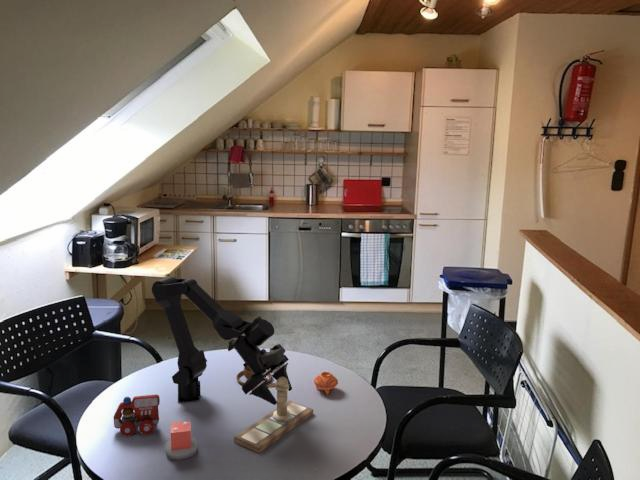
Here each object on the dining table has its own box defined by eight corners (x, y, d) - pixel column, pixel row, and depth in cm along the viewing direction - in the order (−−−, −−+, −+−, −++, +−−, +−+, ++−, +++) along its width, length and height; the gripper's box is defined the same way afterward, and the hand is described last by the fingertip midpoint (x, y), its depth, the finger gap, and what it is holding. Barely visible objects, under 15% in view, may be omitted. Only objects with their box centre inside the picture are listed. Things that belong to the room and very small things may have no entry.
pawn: (278, 423, 156) (279, 383, 153) (270, 415, 160) (270, 376, 157) (293, 418, 158) (294, 378, 156) (284, 411, 162) (285, 372, 160)
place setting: (225, 375, 189) (225, 360, 188) (273, 361, 202) (273, 346, 200) (252, 395, 176) (252, 378, 175) (301, 378, 188) (302, 362, 187)
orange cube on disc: (165, 461, 140) (164, 435, 138) (166, 443, 147) (165, 418, 146) (197, 457, 142) (196, 431, 140) (196, 440, 149) (195, 415, 148)
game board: (259, 453, 144) (259, 447, 144) (233, 441, 149) (233, 436, 149) (313, 413, 164) (313, 408, 164) (289, 404, 169) (289, 399, 169)
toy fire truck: (117, 424, 156) (115, 391, 154) (161, 421, 158) (160, 388, 156) (112, 438, 149) (110, 403, 147) (159, 434, 152) (158, 400, 150)
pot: (310, 394, 176) (311, 373, 176) (317, 389, 183) (318, 369, 183) (334, 397, 173) (335, 376, 174) (340, 392, 181) (341, 371, 181)
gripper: (251, 350, 148) (286, 397, 146) (283, 328, 164) (315, 370, 162) (226, 371, 152) (260, 417, 150) (260, 348, 169) (291, 388, 167)
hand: (283, 396), depth 157 cm, fingers open, 9 cm apart
